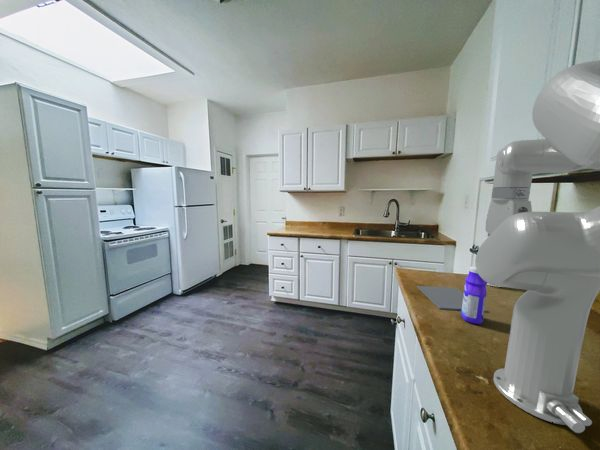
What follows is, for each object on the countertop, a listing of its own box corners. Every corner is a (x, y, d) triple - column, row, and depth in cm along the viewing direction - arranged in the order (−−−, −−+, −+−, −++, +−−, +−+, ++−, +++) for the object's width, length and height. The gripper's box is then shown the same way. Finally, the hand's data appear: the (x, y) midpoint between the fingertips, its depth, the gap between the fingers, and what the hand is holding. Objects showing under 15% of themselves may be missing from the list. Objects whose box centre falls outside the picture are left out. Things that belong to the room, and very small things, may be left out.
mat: (487, 312, 81) (487, 310, 81) (439, 309, 83) (439, 307, 83) (455, 289, 101) (455, 287, 101) (416, 287, 103) (417, 285, 103)
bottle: (459, 312, 81) (464, 263, 79) (479, 316, 78) (486, 266, 76) (462, 322, 74) (468, 269, 72) (484, 327, 72) (491, 272, 70)
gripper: (552, 195, 55) (539, 271, 57) (503, 194, 69) (495, 254, 72) (517, 195, 55) (506, 269, 58) (476, 194, 70) (469, 253, 73)
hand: (500, 261), depth 65 cm, fingers closed
